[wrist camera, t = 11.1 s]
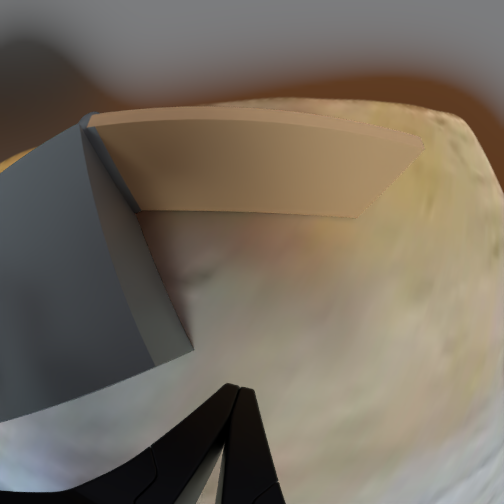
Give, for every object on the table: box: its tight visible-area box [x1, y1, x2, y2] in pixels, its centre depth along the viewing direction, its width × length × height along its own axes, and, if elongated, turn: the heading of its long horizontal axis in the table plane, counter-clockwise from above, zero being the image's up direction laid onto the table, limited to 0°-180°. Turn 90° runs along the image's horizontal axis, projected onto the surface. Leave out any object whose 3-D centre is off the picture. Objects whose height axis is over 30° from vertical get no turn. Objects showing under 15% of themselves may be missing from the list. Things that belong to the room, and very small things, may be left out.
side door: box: [79, 106, 425, 218], centre depth 15 cm, size 17×2×9 cm, turn 90°
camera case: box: [0, 123, 194, 422], centre depth 12 cm, size 11×11×11 cm
